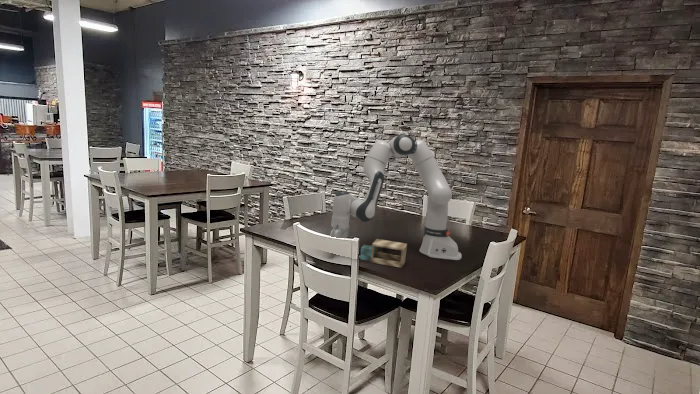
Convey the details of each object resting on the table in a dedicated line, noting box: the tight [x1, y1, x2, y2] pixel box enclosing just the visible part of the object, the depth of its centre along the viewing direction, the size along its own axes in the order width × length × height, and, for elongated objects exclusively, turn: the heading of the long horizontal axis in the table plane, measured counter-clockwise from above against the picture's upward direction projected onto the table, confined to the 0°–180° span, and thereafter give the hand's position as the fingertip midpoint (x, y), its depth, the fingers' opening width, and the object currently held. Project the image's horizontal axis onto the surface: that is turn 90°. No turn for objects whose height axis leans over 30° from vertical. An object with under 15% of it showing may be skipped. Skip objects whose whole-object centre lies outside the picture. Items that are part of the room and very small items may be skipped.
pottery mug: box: [378, 247, 398, 255], centre depth 207 cm, size 12×10×8 cm
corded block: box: [358, 244, 376, 262], centre depth 199 cm, size 19×6×6 cm, turn 73°
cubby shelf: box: [369, 238, 408, 269], centre depth 194 cm, size 16×10×9 cm, turn 73°
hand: (337, 249), depth 202 cm, fingers open, 4 cm apart
